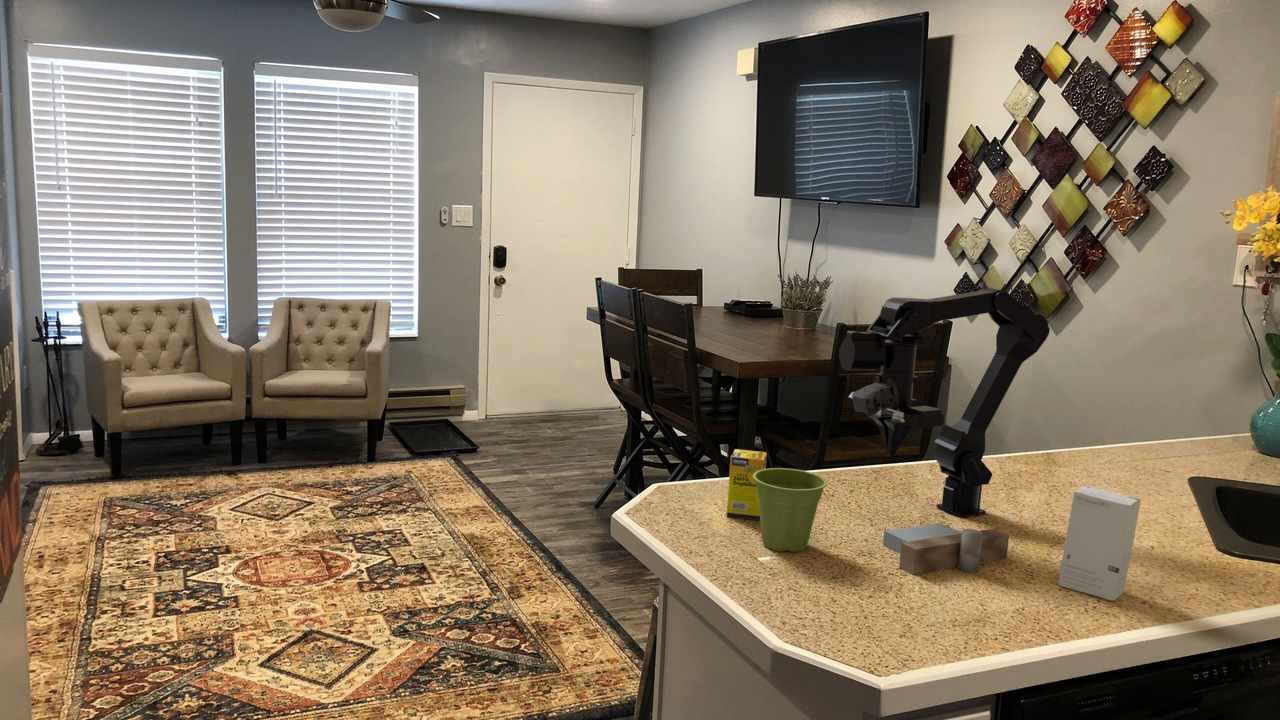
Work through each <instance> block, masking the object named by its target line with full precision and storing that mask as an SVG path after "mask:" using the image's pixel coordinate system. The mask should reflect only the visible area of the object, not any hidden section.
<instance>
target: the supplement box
mask: <svg viewBox="0 0 1280 720" xmlns="http://www.w3.org/2000/svg"><path fill="white" fill-rule="evenodd" d="M767 455H768V453H767V452H765V451H755V450H749V449H739V448H737V449H736V448H735V449H734V450H733V453H732V454H731V455H730V462H729V474H728V475H729V478H728V491H727V503H726V505H727V507H726V517H729V518H737V519H746V520H753V521H760V509H759V497H758V493H757V487H756V481H755V480H754V478H753V474H754V473H755V472H756V471H759V470H763V469H767V468H766V467H767V457H768V456H767Z"/></svg>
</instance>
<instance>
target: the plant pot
mask: <svg viewBox="0 0 1280 720" xmlns="http://www.w3.org/2000/svg"><path fill="white" fill-rule="evenodd" d="M753 478H754V480H755V481H756V487H757V493H758V497H759V509H760V520H759V521H760V532H761V533H760V534H761V542H762V545H764V546H765V547H766V548H769V549H771V550H774V551H777V552H785V551H789V552H791V553H798V552H801V551H803V550H804V551H805V549H806V548H807V547H808V544H809V541H810V536H811V532H812V528H813V525H814V521H815V517H816V514H817V513H816V512H817V509H818V505H819V502H820V500H821V498H822V495H823V492H824V488H827V486H828V480H827V479H826V478H825V477H823V476H822V475H819V474H818V473H814V472H810V471H806V470H802V469H796V468H795V469H794V468H784V467H779V468H778V467H774V468H773V467H770V468H766V469H763V470H759V471H756V472H755V473H754V474H753Z"/></svg>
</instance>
